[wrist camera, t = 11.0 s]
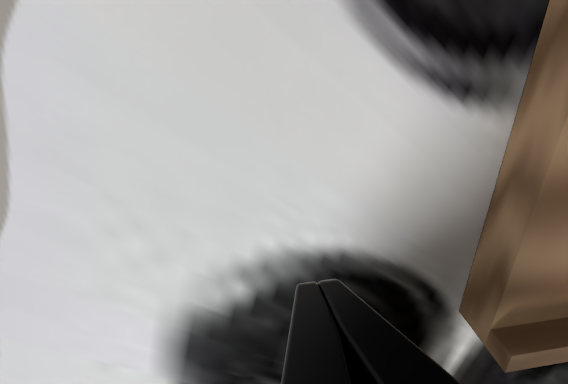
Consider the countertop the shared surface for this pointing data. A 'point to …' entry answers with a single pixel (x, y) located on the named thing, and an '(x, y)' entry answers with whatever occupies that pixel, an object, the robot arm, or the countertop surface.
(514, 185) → the trap box
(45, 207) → the countertop surface
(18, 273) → the countertop surface
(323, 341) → the robot arm
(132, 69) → the countertop surface
